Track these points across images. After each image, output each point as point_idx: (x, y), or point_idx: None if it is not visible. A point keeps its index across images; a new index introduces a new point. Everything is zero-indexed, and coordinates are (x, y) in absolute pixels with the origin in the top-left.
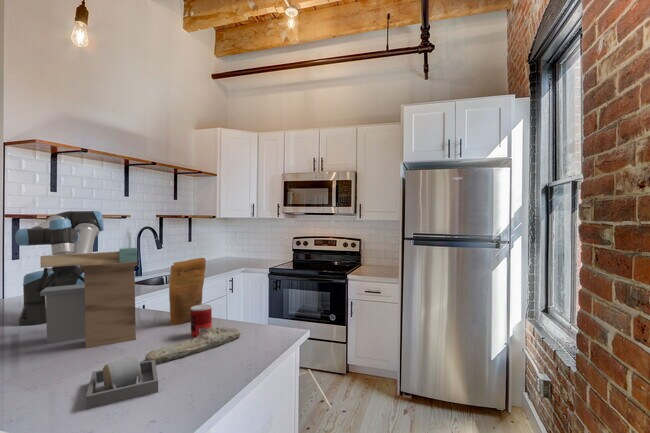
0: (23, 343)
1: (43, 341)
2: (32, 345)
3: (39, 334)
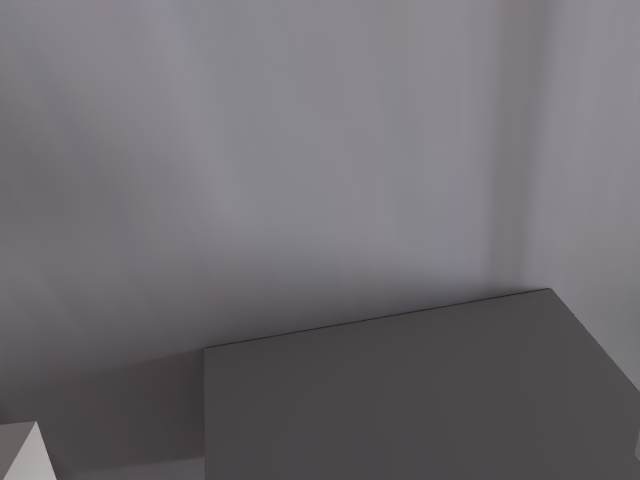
0: (37, 415)
1: (181, 410)
2: (141, 460)
3: (24, 225)
